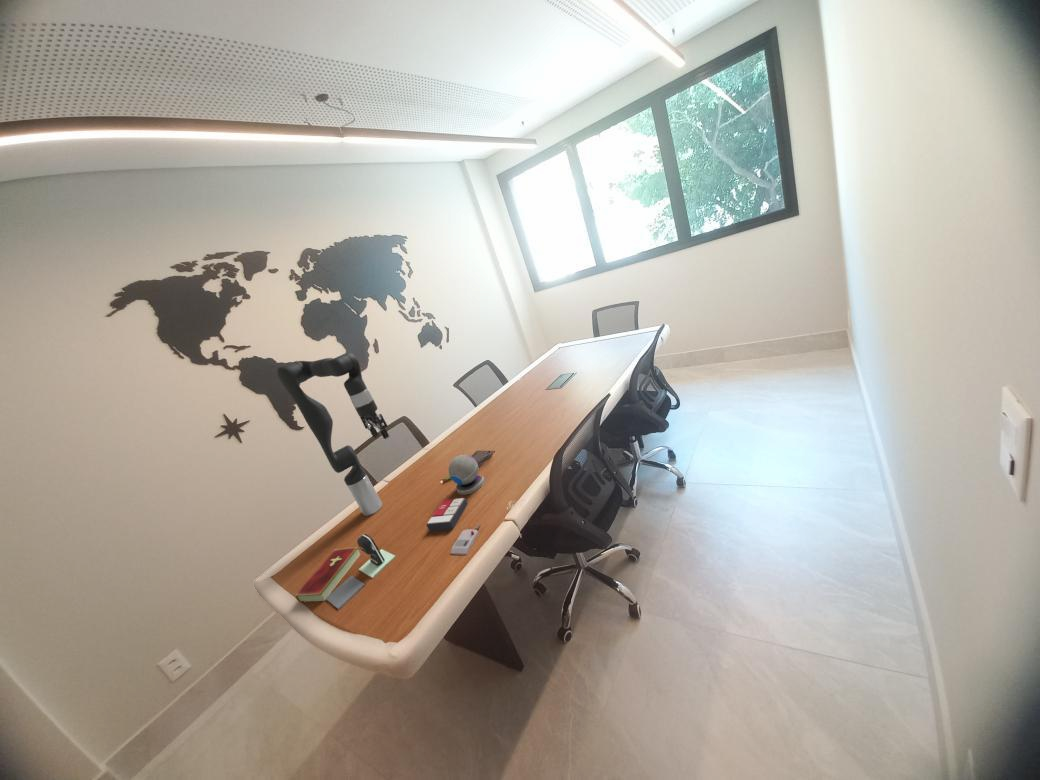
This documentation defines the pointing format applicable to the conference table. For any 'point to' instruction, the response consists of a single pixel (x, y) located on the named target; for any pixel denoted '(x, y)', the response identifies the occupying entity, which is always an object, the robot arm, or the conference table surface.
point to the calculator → (447, 515)
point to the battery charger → (370, 549)
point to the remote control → (465, 541)
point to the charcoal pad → (345, 592)
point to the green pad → (373, 569)
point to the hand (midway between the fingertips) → (381, 437)
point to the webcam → (465, 474)
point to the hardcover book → (328, 575)
